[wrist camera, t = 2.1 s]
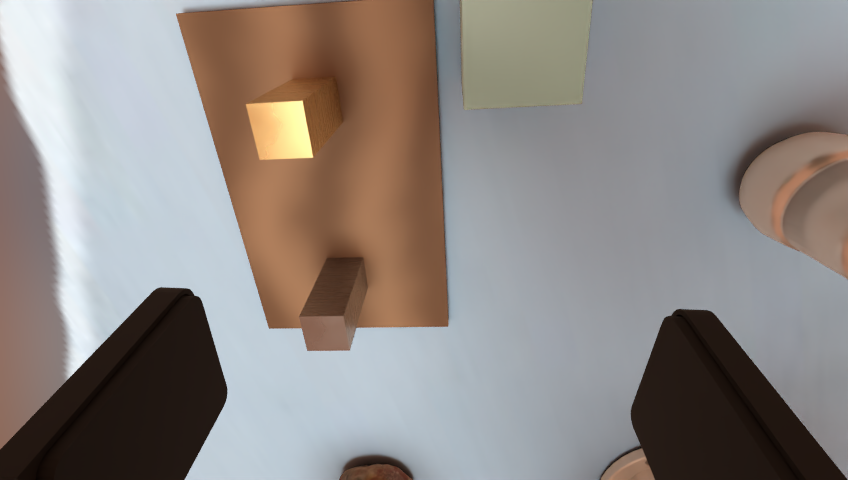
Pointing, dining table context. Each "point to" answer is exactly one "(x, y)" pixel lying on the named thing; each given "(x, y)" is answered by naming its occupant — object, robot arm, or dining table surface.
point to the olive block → (523, 52)
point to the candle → (374, 473)
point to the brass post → (295, 118)
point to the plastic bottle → (802, 196)
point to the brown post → (334, 305)
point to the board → (333, 151)
